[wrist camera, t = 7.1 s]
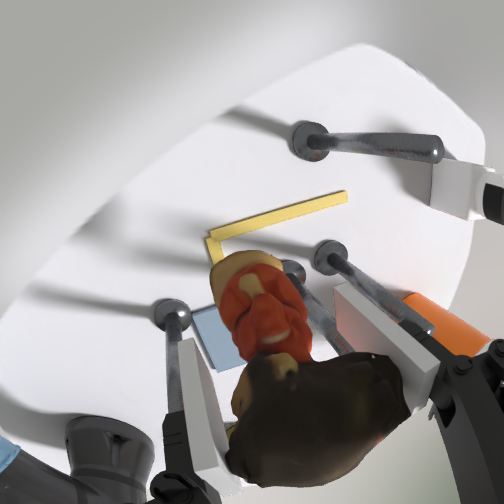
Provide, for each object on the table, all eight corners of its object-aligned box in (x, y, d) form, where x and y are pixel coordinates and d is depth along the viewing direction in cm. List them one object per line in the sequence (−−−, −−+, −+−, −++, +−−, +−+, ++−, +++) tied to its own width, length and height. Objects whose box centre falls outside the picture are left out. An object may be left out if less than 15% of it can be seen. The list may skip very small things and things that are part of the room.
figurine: (246, 223, 16) (385, 378, 5) (311, 276, 18) (444, 411, 7) (178, 307, 16) (203, 507, 6) (248, 346, 19) (318, 507, 8)
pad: (216, 369, 34) (217, 372, 33) (191, 313, 30) (192, 316, 30) (284, 346, 35) (286, 348, 34) (270, 287, 31) (272, 289, 31)
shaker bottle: (384, 305, 37) (483, 391, 19) (427, 277, 38) (524, 342, 20) (388, 345, 41) (465, 425, 23) (426, 318, 42) (506, 383, 24)
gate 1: (163, 334, 30) (169, 459, 16) (148, 305, 28) (141, 432, 14) (306, 286, 33) (389, 378, 18) (300, 255, 31) (394, 341, 16)
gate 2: (317, 278, 33) (405, 365, 18) (288, 126, 26) (407, 114, 11) (346, 266, 33) (440, 341, 19) (324, 120, 26) (450, 113, 12)
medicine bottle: (455, 206, 35) (517, 229, 25) (428, 207, 34) (497, 233, 23) (459, 160, 33) (523, 175, 22) (432, 156, 31) (504, 170, 20)
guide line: (226, 303, 31) (227, 304, 30) (203, 232, 27) (203, 233, 27) (352, 257, 33) (354, 258, 33) (345, 190, 30) (346, 191, 29)
